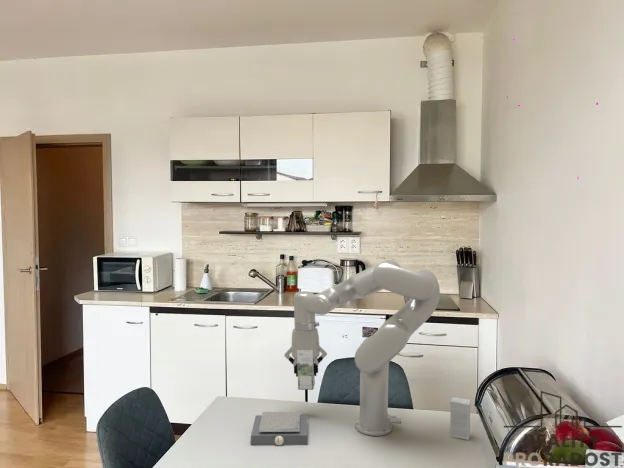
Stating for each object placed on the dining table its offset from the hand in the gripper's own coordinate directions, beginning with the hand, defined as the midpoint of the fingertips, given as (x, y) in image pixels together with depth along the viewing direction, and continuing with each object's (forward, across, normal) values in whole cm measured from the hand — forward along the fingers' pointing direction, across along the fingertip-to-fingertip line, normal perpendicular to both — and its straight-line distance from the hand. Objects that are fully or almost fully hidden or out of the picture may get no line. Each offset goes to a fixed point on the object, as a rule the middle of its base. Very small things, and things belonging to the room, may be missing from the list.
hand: (306, 374), depth 158 cm
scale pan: (+11, +9, +13) cm, 19 cm away
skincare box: (+17, -51, +14) cm, 56 cm away
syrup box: (+5, 0, 0) cm, 5 cm away
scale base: (+15, +9, +13) cm, 22 cm away
